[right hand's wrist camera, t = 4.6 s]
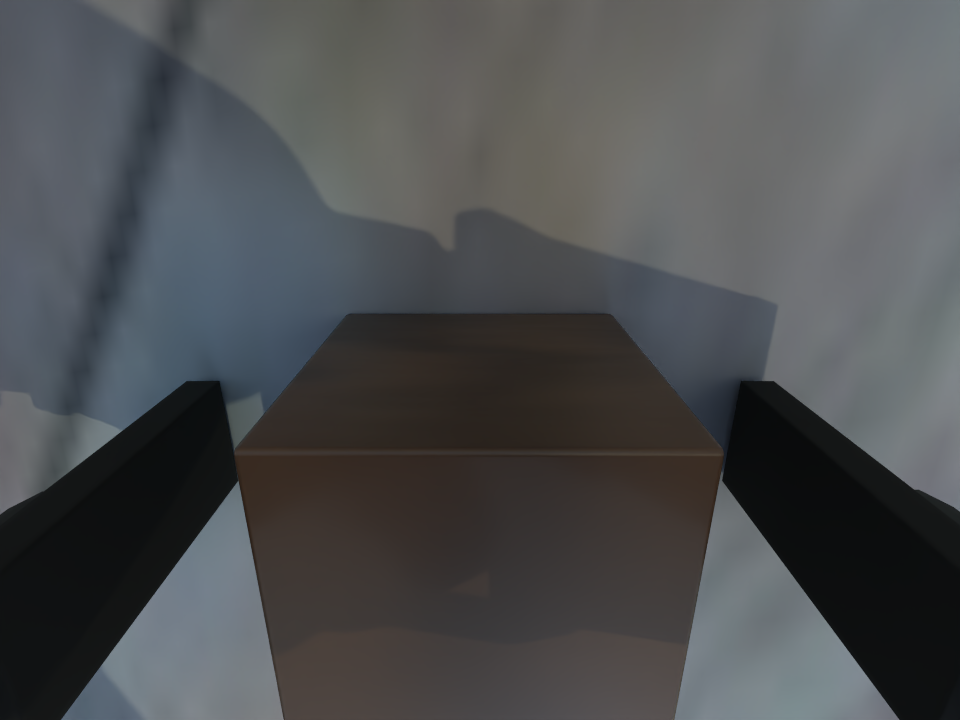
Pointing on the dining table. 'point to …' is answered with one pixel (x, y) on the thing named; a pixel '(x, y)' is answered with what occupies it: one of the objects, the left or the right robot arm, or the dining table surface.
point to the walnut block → (479, 522)
